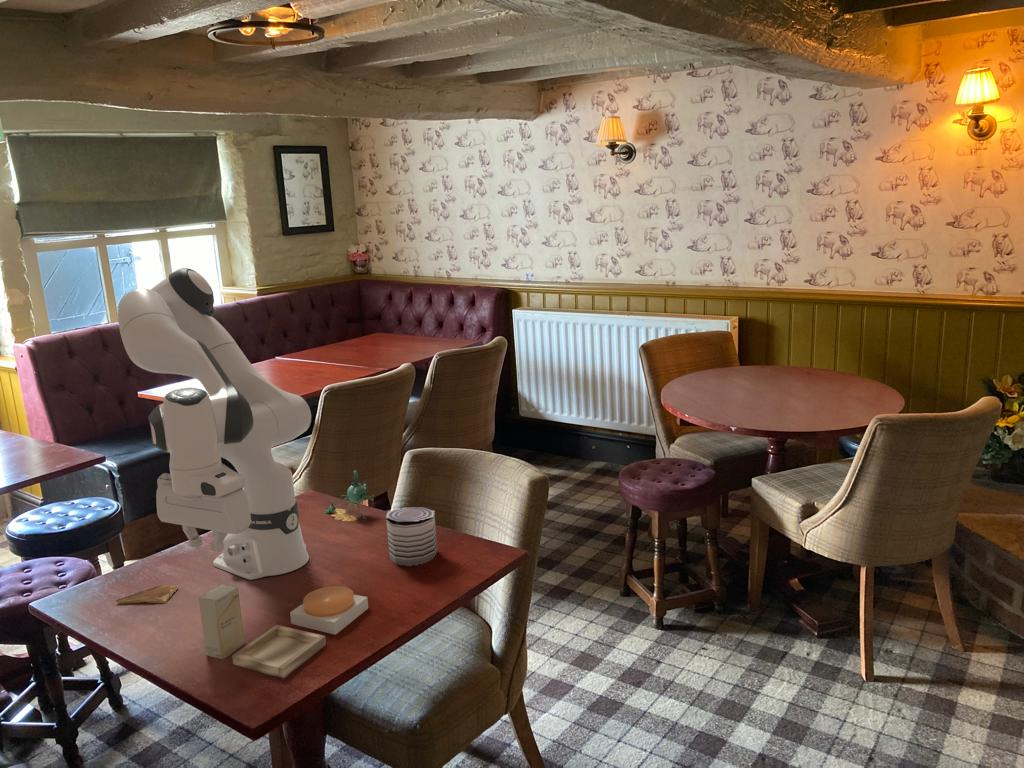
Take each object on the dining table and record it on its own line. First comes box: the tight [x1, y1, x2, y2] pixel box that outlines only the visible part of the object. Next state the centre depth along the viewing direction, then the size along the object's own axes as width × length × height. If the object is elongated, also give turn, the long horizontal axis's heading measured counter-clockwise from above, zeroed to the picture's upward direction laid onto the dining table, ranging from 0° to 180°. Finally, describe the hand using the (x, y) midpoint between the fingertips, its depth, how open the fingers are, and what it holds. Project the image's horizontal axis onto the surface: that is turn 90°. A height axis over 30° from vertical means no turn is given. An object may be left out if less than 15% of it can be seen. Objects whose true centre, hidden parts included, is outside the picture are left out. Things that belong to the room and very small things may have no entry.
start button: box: [302, 585, 355, 617], centre depth 167 cm, size 10×10×2 cm
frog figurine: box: [324, 470, 375, 522], centre depth 218 cm, size 10×18×15 cm, turn 60°
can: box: [384, 506, 438, 567], centre depth 192 cm, size 11×11×12 cm
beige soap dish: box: [231, 624, 327, 680], centre depth 154 cm, size 12×12×2 cm
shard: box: [115, 584, 179, 605], centre depth 179 cm, size 11×8×2 cm
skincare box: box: [198, 583, 246, 660], centre depth 156 cm, size 6×4×12 cm
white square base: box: [289, 594, 369, 636], centre depth 167 cm, size 11×11×3 cm
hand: (207, 548), depth 152 cm, fingers open, 4 cm apart
